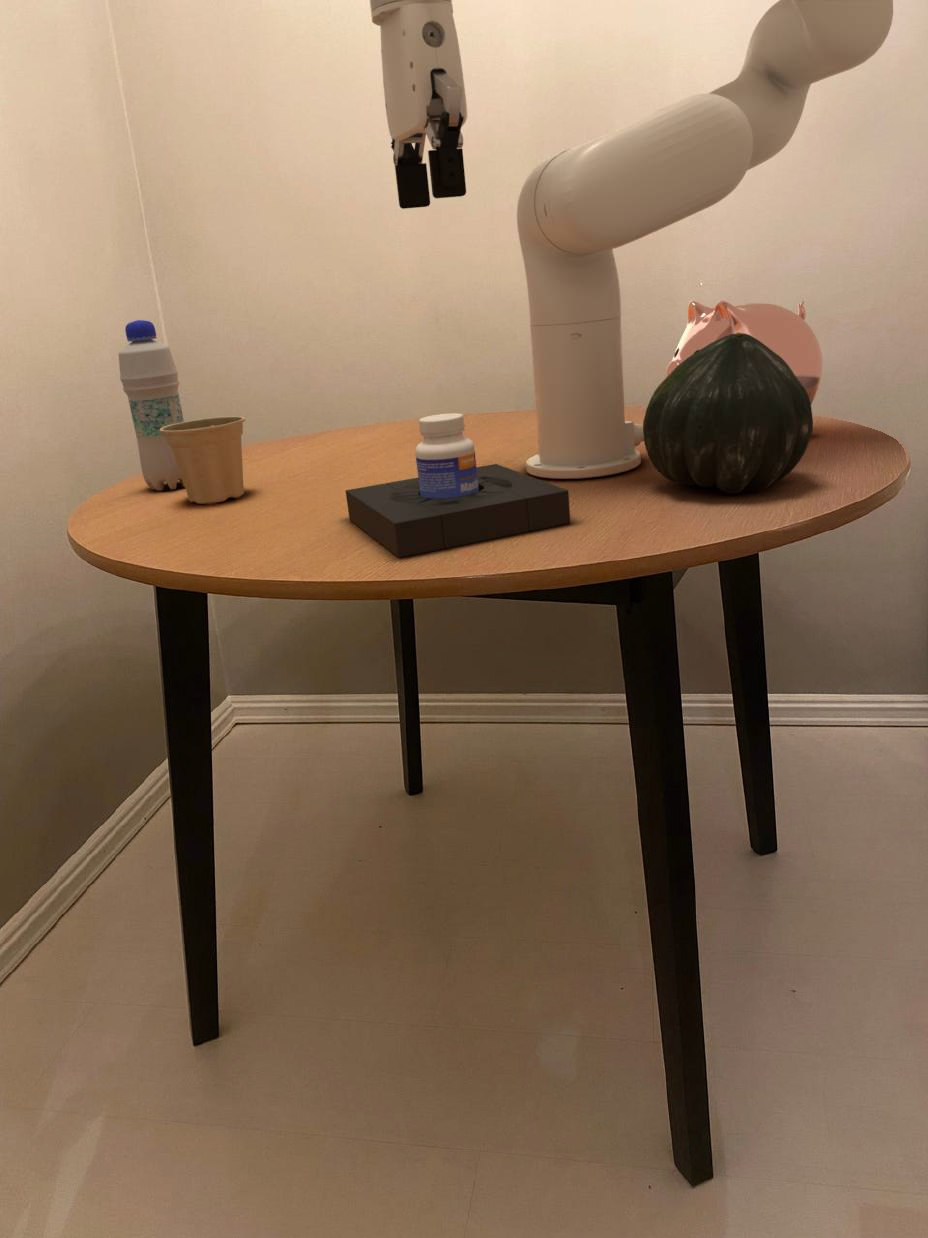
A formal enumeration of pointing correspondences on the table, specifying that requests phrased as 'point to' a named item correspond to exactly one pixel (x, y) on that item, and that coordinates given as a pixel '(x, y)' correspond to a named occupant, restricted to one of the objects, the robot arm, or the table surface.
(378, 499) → the pad
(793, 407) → the squash
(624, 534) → the table surface
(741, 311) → the piggy bank
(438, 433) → the pill bottle
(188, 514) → the table surface
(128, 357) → the bottle
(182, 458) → the flower pot
